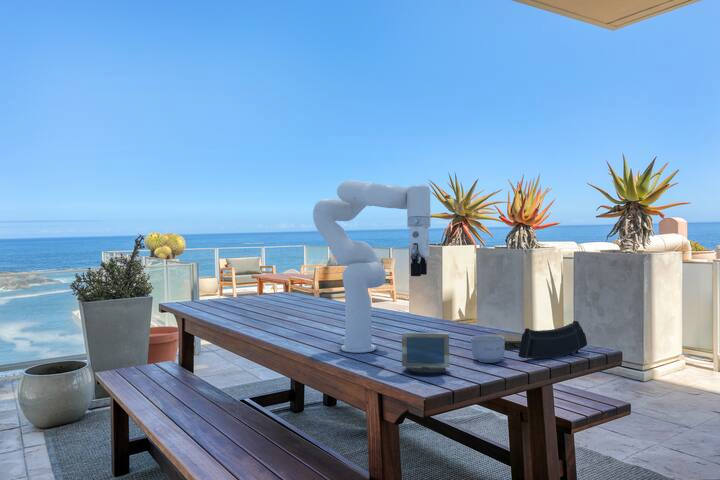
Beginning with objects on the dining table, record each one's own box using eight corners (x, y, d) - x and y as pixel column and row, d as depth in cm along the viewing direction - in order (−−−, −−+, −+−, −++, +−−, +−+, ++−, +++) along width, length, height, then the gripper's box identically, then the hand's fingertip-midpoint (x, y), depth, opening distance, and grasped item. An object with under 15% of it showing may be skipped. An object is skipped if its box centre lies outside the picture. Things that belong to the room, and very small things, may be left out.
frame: (402, 363, 156) (402, 330, 156) (447, 363, 154) (447, 331, 154) (402, 366, 151) (402, 333, 151) (449, 367, 149) (449, 334, 150)
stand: (397, 370, 152) (397, 366, 152) (425, 364, 160) (425, 361, 160) (425, 378, 143) (425, 374, 143) (454, 372, 150) (454, 368, 150)
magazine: (519, 335, 161) (579, 302, 175) (512, 333, 164) (571, 301, 178) (531, 384, 163) (589, 348, 177) (523, 381, 166) (581, 346, 180)
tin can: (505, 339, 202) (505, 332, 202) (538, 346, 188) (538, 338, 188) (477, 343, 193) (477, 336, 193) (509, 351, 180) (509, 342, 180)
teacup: (486, 366, 157) (486, 340, 157) (463, 359, 166) (463, 335, 167) (519, 361, 163) (519, 337, 163) (495, 355, 173) (495, 332, 173)
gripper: (425, 221, 154) (425, 277, 154) (434, 223, 171) (434, 274, 171) (401, 222, 157) (401, 276, 157) (413, 224, 173) (413, 273, 173)
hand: (418, 275), depth 164 cm, fingers open, 9 cm apart
